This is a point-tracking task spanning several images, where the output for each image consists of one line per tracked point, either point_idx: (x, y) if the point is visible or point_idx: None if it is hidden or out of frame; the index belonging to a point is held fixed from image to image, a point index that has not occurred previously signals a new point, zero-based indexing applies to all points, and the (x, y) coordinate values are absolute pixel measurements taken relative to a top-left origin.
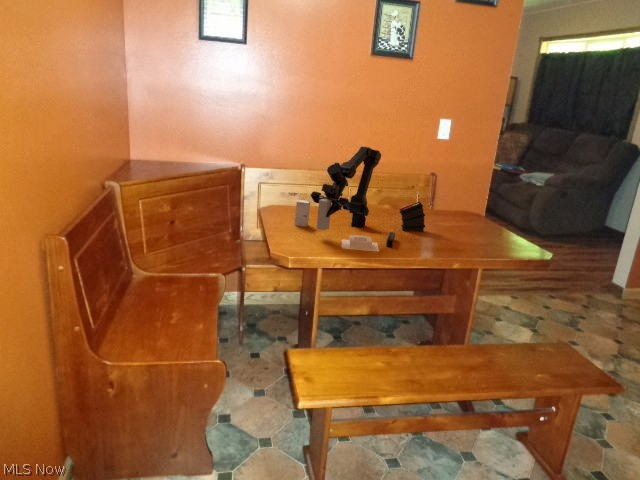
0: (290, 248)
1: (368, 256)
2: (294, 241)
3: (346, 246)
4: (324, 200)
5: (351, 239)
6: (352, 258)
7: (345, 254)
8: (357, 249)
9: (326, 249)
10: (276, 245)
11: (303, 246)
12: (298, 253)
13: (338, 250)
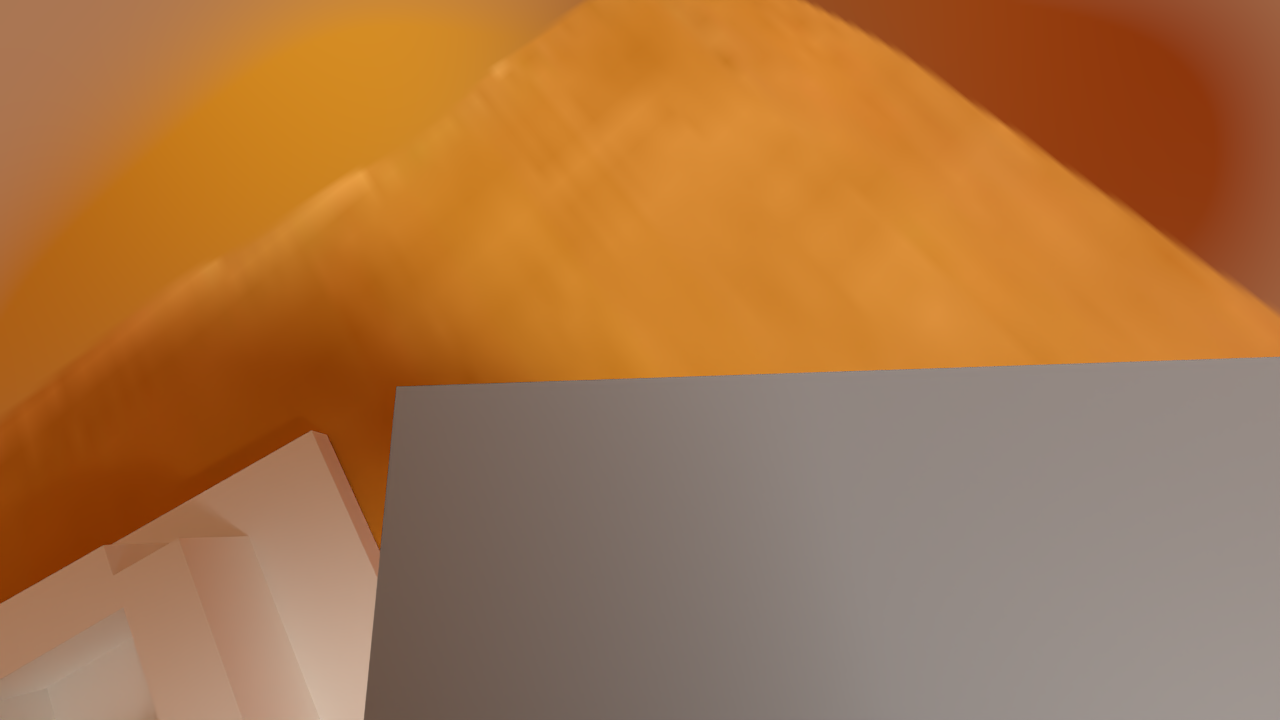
0: (744, 112)
1: (5, 495)
2: (865, 288)
3: (288, 530)
4: (879, 697)
5: (176, 602)
6: (145, 316)
7: (245, 360)
8: (134, 537)
9: (471, 338)
10: (886, 82)
11: (696, 238)
12: (610, 72)
13: (355, 408)
